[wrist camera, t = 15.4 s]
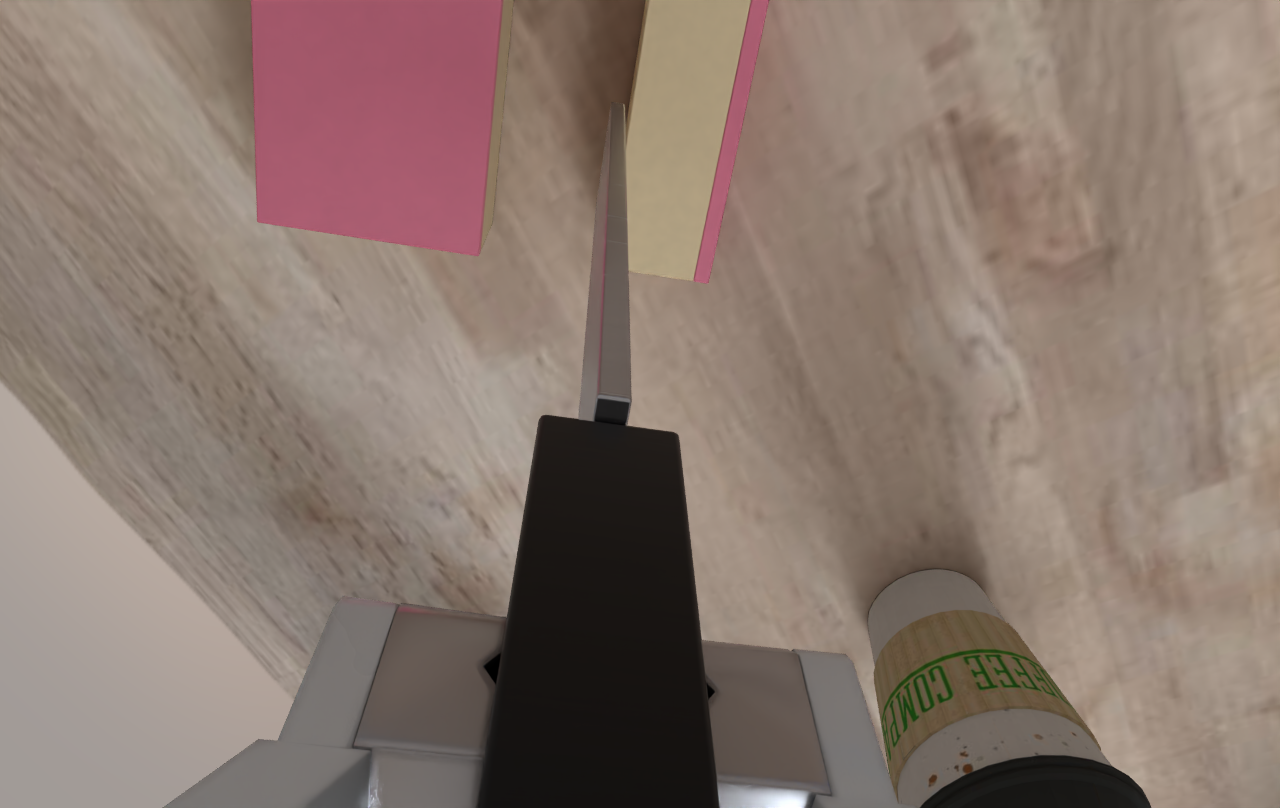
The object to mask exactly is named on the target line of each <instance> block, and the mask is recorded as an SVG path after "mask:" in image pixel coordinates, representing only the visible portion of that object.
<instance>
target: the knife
mask: <svg viewBox="0 0 1280 808" xmlns="http://www.w3.org/2000/svg"><path fill="white" fill-rule="evenodd" d="M631 402H632V396H631V352H630V308H629V264H628V220H627V176H626V132H625V105H624V104H621V103H616V102H612V103H611V107H610V114H609V120H608V127H607V134H606V141H605V148H604V154H603V161H602V168H601V175H600V181H599V188H598V195H597V202H596V213H595V225H594V237H593V249H592V261H591V273H590V285H589V297H588V309H587V321H586V333H585V345H584V357H583V369H582V381H581V393H580V405H579V417H578V419H574V418H567V417H559V416H552V415H542V416H541V418H540V419H539V422H538V428H537V434H536V440H535V447H534V453H533V459H532V465H531V471H530V478H529V484H528V490H527V496H526V502H525V509H524V515H523V521H522V527H521V533H520V540H519V546H518V552H517V558H516V565H515V571H514V577H513V583H512V589H511V596H510V602H509V608H508V614H507V620H506V627H505V633H504V639H503V645H502V651H501V658H500V664H499V670H498V676H497V682H496V689H495V695H494V701H493V707H492V714H491V720H490V726H489V732H488V738H487V745H486V751H485V757H484V763H483V769H482V776H481V782H480V788H479V794H478V800H477V807H476V808H720V800H719V791H718V782H717V773H716V764H715V755H714V746H713V737H712V728H711V719H710V710H709V702H708V693H707V684H706V675H705V666H704V657H703V648H702V639H701V630H700V621H699V612H698V603H697V594H696V585H695V576H694V567H693V558H692V549H691V540H690V531H689V522H688V513H687V504H686V495H685V486H684V477H683V468H682V459H681V450H680V442H679V436H678V434H676V433H674V432H669V431H662V430H655V429H647V428H640V427H633V426H627V424H628V419H629V413H630V408H631Z"/></svg>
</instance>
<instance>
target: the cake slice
mask: <svg viewBox="0 0 1280 808" xmlns="http://www.w3.org/2000/svg"><path fill="white" fill-rule="evenodd" d="M768 3H769V0H646V2H645V8H644V15H643V21H642V27H641V34H640V40H639V46H638V53H637V59H636V66H635V72H634V78H633V85H632V91H631V98H630V104H629V110H628V117H627V123H626V130H625V132H626V176H627V220H628V264H629V272H635V273H642V274H648V275H655V276H661V277H668V278H674V279H681V280H687V281H693V280H694V282H700V283H709V278H710V274H711V269H712V264H713V260H714V255H715V250H716V246H717V241H718V236H719V232H720V227H721V222H722V218H723V213H724V208H725V204H726V199H727V194H728V190H729V185H730V180H731V176H732V171H733V166H734V162H735V157H736V152H737V148H738V143H739V138H740V134H741V129H742V124H743V120H744V115H745V110H746V106H747V101H748V96H749V92H750V87H751V82H752V78H753V73H754V68H755V64H756V59H757V54H758V50H759V45H760V40H761V36H762V31H763V26H764V22H765V17H766V12H767V8H768Z"/></svg>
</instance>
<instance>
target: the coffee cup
mask: <svg viewBox="0 0 1280 808" xmlns="http://www.w3.org/2000/svg"><path fill="white" fill-rule="evenodd" d="M868 631H869V636H870V642H871V648H872V654H873V659H874V665H875V669H874V684H875V690H876V696H877V702H878V708H879V714H880V720H881V726H882V732H883V738H884V744H885V750H886V756H887V762H888V768H889V774H890V779H891V782H892V785H893V788H894V792H895V795H896V798H897V801H898V804H906V805H914V806H916V807H917V808H1151V806H1150V803H1149V801H1148V799H1147V797H1146V795H1145V794H1144V792H1143V790H1142V788H1141V787H1140V786H1139V785H1138V784H1137V783H1136V782H1135V781H1134V780H1133V779H1132V778H1130V777H1129V776H1128V775H1126V774H1124V773H1123V772H1121V771H1119V770H1118V769H1116V768H1114V767H1113V766H1111V764H1110V763H1109V762H1108V760H1107V759H1106V757H1105V756H1104V755H1103V753H1102V752H1101V748H1100V746H1099V744H1098V742H1097V740H1096V738H1095V737H1094V735H1093V733H1092V732H1091V731H1090V729H1089V728H1088V727H1087V725H1086V724H1085V723H1084V721H1083V720H1082V719H1081V717H1080V716H1079V715H1078V713H1077V712H1076V711H1075V709H1074V708H1073V707H1072V705H1071V704H1070V703H1069V701H1068V700H1067V699H1066V697H1065V696H1064V695H1063V693H1062V692H1061V691H1060V689H1059V688H1058V687H1057V685H1056V684H1055V683H1054V681H1053V680H1052V679H1051V677H1050V676H1049V675H1048V673H1047V672H1046V671H1045V669H1044V668H1043V667H1042V665H1041V664H1040V663H1039V661H1038V660H1037V659H1036V657H1035V656H1034V655H1033V653H1032V652H1031V651H1030V649H1029V648H1028V647H1027V645H1026V644H1025V643H1024V641H1023V640H1022V639H1021V637H1020V636H1019V635H1018V633H1017V632H1016V631H1015V630H1014V629H1013V628H1012V627H1011V626H1010V625H1009V624H1008V623H1006V621H1005V620H1004V619H1003V617H1002V616H1001V615H1000V613H999V612H998V611H997V609H996V608H995V606H994V605H993V604H992V602H991V601H990V600H989V598H988V597H987V596H986V594H985V593H984V591H983V590H982V589H981V587H980V586H979V585H978V584H977V583H976V582H975V581H973V580H972V579H970V578H969V577H967V576H966V575H963V574H960V573H958V572H955V571H949V570H938V569H932V570H924V571H919V572H915V573H912V574H909V575H906V576H904V577H902V578H900V579H898V580H896V581H895V582H893V583H892V584H890V585H889V586H887V587H886V588H885V589H884V590H883V591H882V592H881V593H880V594H879V595H878V597H877V598H876V599H875V601H874V602H873V604H872V607H871V609H870V611H869V616H868Z"/></svg>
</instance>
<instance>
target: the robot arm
mask: <svg viewBox="0 0 1280 808" xmlns="http://www.w3.org/2000/svg"><path fill="white" fill-rule="evenodd" d="M506 620H507V618H506V617H499V616H492V615H485V614H478V613H471V612H463V611H456V610H449V609H442V608H435V607H428V606H421V605H413V604H406V603H401V604H397V603H391V602H384V601H377V600H370V599H362V598H355V597H348V596H342V598H341V599H340V600H339V601H338V602H337V603H336V604H335V606H334V607H333V609H332V611H331V613H330V616H329V618H328V621H327V623H326V625H325V628H324V630H323V633H322V635H321V637H320V640H319V642H318V645H317V647H316V649H315V652H314V654H313V657H312V659H311V661H310V664H309V666H308V669H307V671H306V673H305V676H304V678H303V681H302V683H301V685H300V688H299V690H298V693H297V695H296V697H295V700H294V702H293V705H292V707H291V709H290V712H289V714H288V717H287V719H286V721H285V724H284V726H283V729H282V731H281V734H280V736H279V738H278V741H274V740H262V739H258V740H257V741H255V742H254V743H253V744H251V745H250V746H248V747H247V748H246V749H244V750H243V751H241V752H240V753H239V754H237V755H236V756H234V757H233V758H232V759H230V760H229V761H227V762H226V763H224V764H223V765H222V766H220V767H219V768H217V769H216V770H215V771H213V772H212V773H210V774H209V775H208V776H206V777H205V778H203V779H202V780H201V781H199V782H198V783H197V784H195V785H194V786H192V787H191V788H189V789H188V790H187V791H185V792H184V793H183V794H181V795H180V796H178V797H177V798H176V799H174V800H173V801H171V802H170V803H169V804H167V805H166V806H164V807H163V808H476V807H477V800H478V794H479V788H480V782H481V776H482V769H483V763H484V757H485V751H486V745H487V738H488V732H489V726H490V720H491V714H492V707H493V701H494V695H495V689H496V682H497V676H498V670H499V664H500V658H501V651H502V645H503V639H504V633H505V627H506ZM702 648H703V657H704V666H705V675H706V684H707V693H708V702H709V710H710V719H711V728H712V737H713V746H714V755H715V764H716V773H717V782H718V791H719V800H720V808H917V807H916V806H914V805H906V804H898V801H897V798H896V795H895V792H894V788H893V785H892V782H891V779H890V776H889V773H888V770H887V767H886V763H885V760H884V757H883V754H882V751H881V748H880V745H879V742H878V738H877V735H876V732H875V729H874V726H873V723H872V720H871V717H870V713H869V710H868V707H867V704H866V701H865V698H864V695H863V691H862V688H861V685H860V682H859V679H858V676H857V673H856V670H855V666H854V663H853V662H852V661H851V660H850V658H849V657H848V656H847V655H846V654H839V653H828V652H818V651H808V650H798V649H793V650H792V651H790V650H788V649H780V648H771V647H761V646H752V645H743V644H734V643H725V642H715V641H706V640H702Z"/></svg>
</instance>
